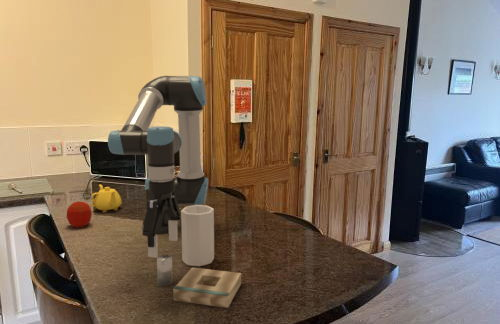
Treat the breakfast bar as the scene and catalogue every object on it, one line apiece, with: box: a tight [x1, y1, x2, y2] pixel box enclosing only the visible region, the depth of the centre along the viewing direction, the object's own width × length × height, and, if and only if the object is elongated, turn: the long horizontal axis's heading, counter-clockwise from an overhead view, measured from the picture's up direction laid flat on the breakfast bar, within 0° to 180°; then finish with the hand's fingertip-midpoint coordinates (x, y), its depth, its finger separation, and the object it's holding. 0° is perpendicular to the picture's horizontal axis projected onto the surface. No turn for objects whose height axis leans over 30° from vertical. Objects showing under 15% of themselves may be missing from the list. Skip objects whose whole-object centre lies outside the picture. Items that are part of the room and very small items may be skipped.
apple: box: [66, 200, 93, 229], centre depth 167 cm, size 10×10×12 cm
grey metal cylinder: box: [156, 254, 174, 287], centre depth 117 cm, size 5×5×8 cm
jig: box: [172, 266, 242, 309], centre depth 113 cm, size 16×14×4 cm
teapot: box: [90, 184, 123, 214], centre depth 191 cm, size 20×15×12 cm
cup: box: [180, 204, 215, 267], centre depth 133 cm, size 11×11×18 cm
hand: (163, 248), depth 116 cm, fingers open, 13 cm apart
